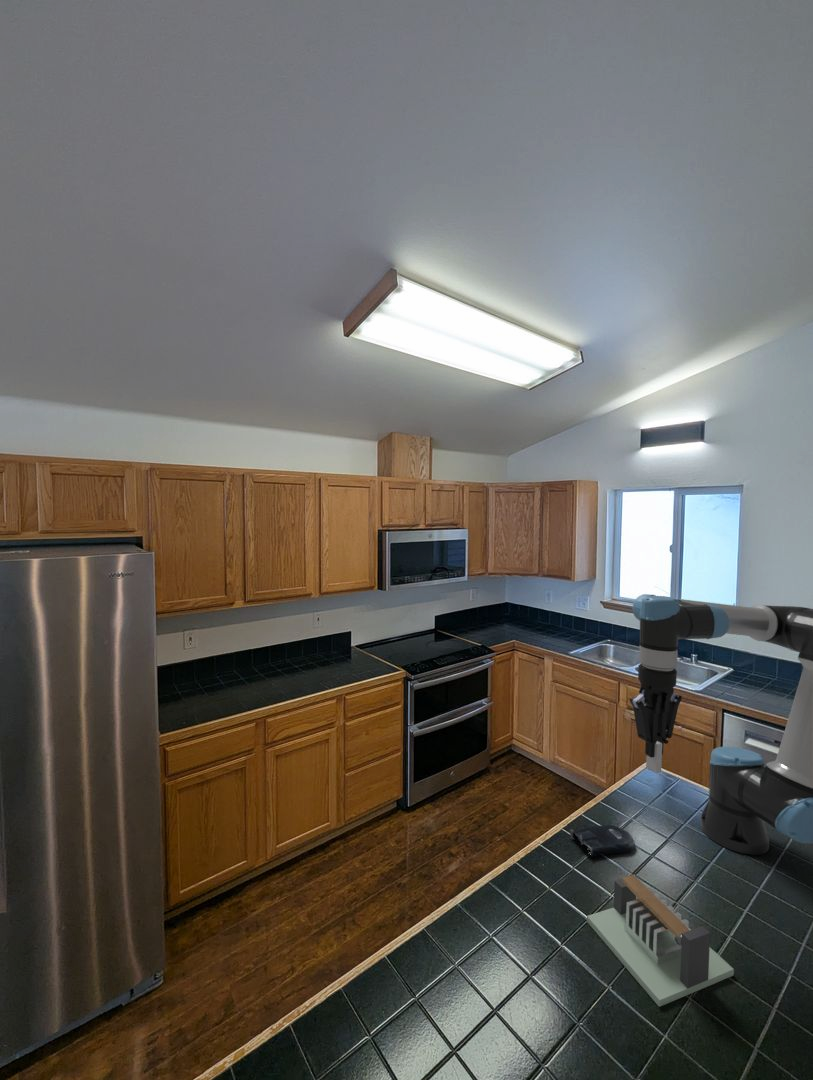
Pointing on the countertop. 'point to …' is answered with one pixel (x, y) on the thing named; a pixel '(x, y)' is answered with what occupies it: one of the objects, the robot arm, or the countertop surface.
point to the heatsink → (652, 931)
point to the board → (667, 978)
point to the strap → (656, 907)
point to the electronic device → (603, 840)
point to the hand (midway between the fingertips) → (653, 769)
